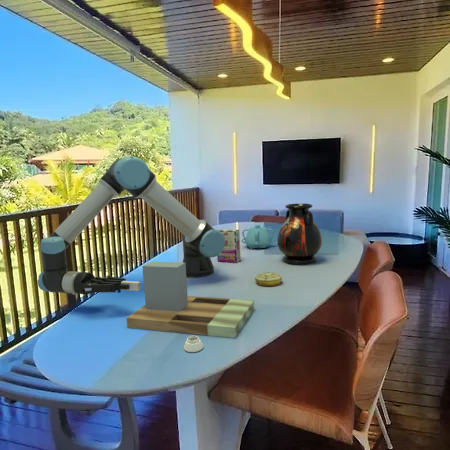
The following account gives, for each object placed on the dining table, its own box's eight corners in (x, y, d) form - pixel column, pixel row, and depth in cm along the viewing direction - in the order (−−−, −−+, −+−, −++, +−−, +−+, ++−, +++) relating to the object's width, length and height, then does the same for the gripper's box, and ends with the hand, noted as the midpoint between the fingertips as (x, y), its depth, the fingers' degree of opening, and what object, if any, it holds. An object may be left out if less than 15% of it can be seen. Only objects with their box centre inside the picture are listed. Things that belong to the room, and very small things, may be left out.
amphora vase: (269, 260, 187) (267, 205, 183) (303, 254, 197) (302, 201, 193) (295, 269, 168) (294, 207, 164) (331, 262, 178) (331, 204, 174)
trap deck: (161, 302, 132) (160, 294, 132) (254, 309, 122) (253, 300, 121) (127, 327, 112) (126, 317, 111) (235, 338, 101) (234, 327, 101)
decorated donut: (271, 278, 156) (271, 269, 156) (287, 284, 147) (287, 275, 146) (250, 282, 152) (250, 273, 151) (265, 289, 142) (264, 279, 142)
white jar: (180, 348, 97) (190, 355, 93) (179, 337, 96) (189, 344, 92) (196, 342, 100) (206, 349, 96) (196, 332, 99) (206, 338, 95)
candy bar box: (241, 261, 188) (239, 229, 186) (236, 263, 184) (235, 230, 182) (221, 259, 193) (220, 228, 191) (217, 261, 189) (215, 230, 187)
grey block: (154, 302, 124) (151, 261, 122) (187, 304, 120) (185, 262, 118) (145, 308, 118) (142, 266, 116) (180, 311, 114) (177, 267, 112)
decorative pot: (277, 247, 217) (277, 224, 215) (254, 251, 209) (253, 227, 207) (261, 243, 231) (261, 222, 229) (239, 247, 223) (238, 224, 222)
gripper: (92, 287, 134) (150, 291, 127) (67, 299, 122) (129, 304, 115) (90, 267, 133) (148, 270, 126) (65, 277, 121) (127, 281, 114)
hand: (139, 286), depth 120 cm, fingers closed
